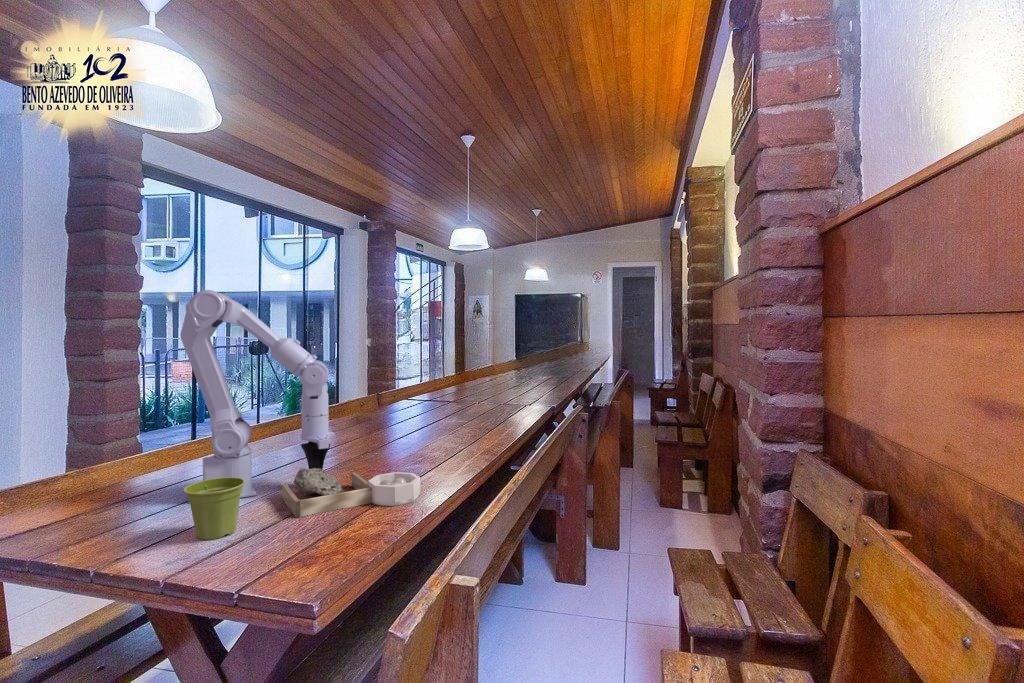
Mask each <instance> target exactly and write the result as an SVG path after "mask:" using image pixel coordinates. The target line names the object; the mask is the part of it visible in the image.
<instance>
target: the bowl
mask: <svg viewBox="0 0 1024 683" xmlns="http://www.w3.org/2000/svg"><path fill="white" fill-rule="evenodd" d="M397 478H403V479H405V480H406V482H407V483H406V484H400V485H395V486H393V485H379V484H380V482H382V481H383V480H389V481H391V483H392V484H393V482H394V481H395V480H396V479H397ZM367 482H368V486H370V487H371V488H372V503H371V504H373V505H376V506H377V505H378V506H383V507H396V506H403V505H404V506H405V505H407V504H411V503H414V502H415V501H417V500H418V499H419V497H420V493H421V477H420V476H418V475H416V474H415V473H413V472H399V471H396V472H387V473H382V474H377V475H375V476H373V477H372V478H371V479H368V480H367Z"/></svg>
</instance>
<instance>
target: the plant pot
mask: <svg viewBox="0 0 1024 683" xmlns="http://www.w3.org/2000/svg"><path fill="white" fill-rule="evenodd" d="M244 484H245V480H244V479H242V478H237V477H224V478H214V479H208V480H203V479H202V480H199V481H196V482H193V483H191V484H187V485H186V486H185V487H184V488H183V493H184V494H186V497H187V501H188V502H189V504H190V505H189V506H190V510H191V514H192V520H193V525H194V532H195V536H196V538H200V539H201V540H206V541H207V540H215V539H220V538H222V537H224V536H225V535H231V534H233V533H234V532H236V530H237V524H238V516H239V508H240V499H241V498H240V493H241V492H242V487H243V485H244Z"/></svg>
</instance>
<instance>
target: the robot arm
mask: <svg viewBox="0 0 1024 683" xmlns="http://www.w3.org/2000/svg"><path fill="white" fill-rule="evenodd" d="M224 322H225V323H227V324H228V323H229V324H234V325H238V326H240V327H241V328H243V329H244V330H246V331H247V332H248V333H249V334H250V335H252V336H253V337H255V338H256V339H257V340H259V341H260V342H261V343H263V344H264V345H265V346H266V347H267V348H269V349H270V354H271V358H272V359H273V360H274V361H276V363H279V365H280V366H282V367H283V368H285V369H286V370H287V371H288V372H290V374H292V375H294V376H298V377H299V378H298V379H299V382H300V383H301V386H302V387H301V388H302V390H301V397H300V399H301V400H300V402H301V403H300V404H301V434H300V439H301V440H303V441H307V442H304V443H301V444H300V447H301V448H302V451H303V452H304V455H305V457H306V462H307V465H308V469H313V468H316V469H323V468H324V462H325V460H326V456H327V454H328V451H329V450H330V448H331V443H329V442H330V441H329V438H330V437H334V436H335V432H333V431H329V430H330V429H329V428H330V426H329V425H330V424H329V423H330V421H329V417H330V416H329V412H330V411H329V393H328V391H329V390H328V389H329V388H328V386H329V385H328V380H329V369H328V367H327V366H326V364H325V363H324V362H323V361H321V360H317V359H318V356H317V355H315V354H311V353H310V352H308V351H307V350H306V349H305V348H303V346H301V342H300V341H299V340H298V339H295V340H294V339H292V338H291V337H281V336H280V335H278V333H276V332H275V331H274V330H273V329H271V328H270V327H269V326H268V325H267V324H266V323H264V322H263V321H262V320H261V319H260V318H259V317H257V315H256V314H254V313H253V312H252V311H251V310H249V309H248V308H247V307H245V305H242V304H241V303H239V302H237V301H236V300H234V299H232V297H230V296H229V295H227V294H226V293H223V292H217V291H215V290H211V289H204V290H200V291H198V292H196V293H195V294H194V295H193V296H192V297H191V299H190V300H189V301H188V302H187V303H186V305H185V315H184V319H183V323H182V326H181V331H180V334H179V335H180V339H181V342H182V345H183V347H184V350H185V353H186V356H187V358H188V361H189V363H190V366H191V368H192V371H193V374H194V377H195V379H196V382H197V384H198V386H199V390H200V393H201V395H202V398H203V400H204V403H205V405H206V408H207V410H208V414H209V428H210V431H211V439H210V443H211V444H210V445H211V448H212V450H213V455H211V456H206V457H205V456H204V457H203V458H202V481H203V480H208V479H214V478H224V477H237V478H242V479H244V480H245V484H244V485H243V487H242V492H241V493H240V499H242V498H246V497H253V496H256V495H257V491H256V490H255V488H254V486H253V475H252V474H253V472H252V471H253V469H252V468H253V466H252V463H253V462H252V448H251V447H250V446H249V444H248V443H249V442H250V441H251V439H252V437H253V428H252V426H251V424H249V423H248V422H247V420H245V419H244V417H243V415H242V412H241V411H240V410H239V409H238V408H237V406H236V404H235V401H234V399H233V396H232V393H231V391H230V388H229V385H228V383H227V380H226V378H225V375H224V372H223V369H222V366H221V363H220V361H219V359H218V356H217V352H216V350H215V348H214V345H213V342H212V340H211V338H212V336H213V335H214V333H216V330H217V329H218V327H219V326H220V325H221V324H223V323H224ZM323 470H324V469H323Z"/></svg>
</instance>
